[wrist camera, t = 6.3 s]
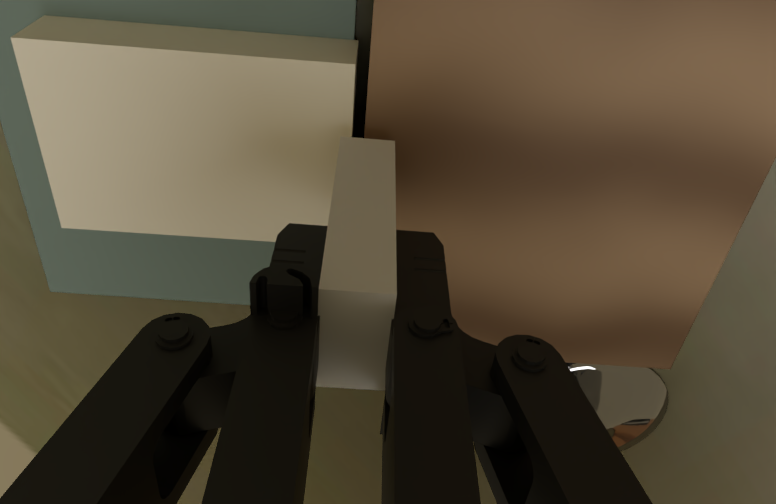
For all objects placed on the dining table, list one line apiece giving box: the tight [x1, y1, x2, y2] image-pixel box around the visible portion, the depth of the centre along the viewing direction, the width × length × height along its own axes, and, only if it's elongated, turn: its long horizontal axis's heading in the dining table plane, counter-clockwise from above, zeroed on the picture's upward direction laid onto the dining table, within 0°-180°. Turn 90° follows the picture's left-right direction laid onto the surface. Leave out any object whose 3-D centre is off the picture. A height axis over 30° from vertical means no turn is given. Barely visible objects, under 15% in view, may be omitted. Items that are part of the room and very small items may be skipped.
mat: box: [0, 0, 357, 305], centre depth 20 cm, size 15×11×1 cm
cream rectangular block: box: [10, 15, 358, 242], centre depth 19 cm, size 6×9×2 cm, turn 86°
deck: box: [364, 0, 776, 369], centre depth 20 cm, size 15×12×2 cm
